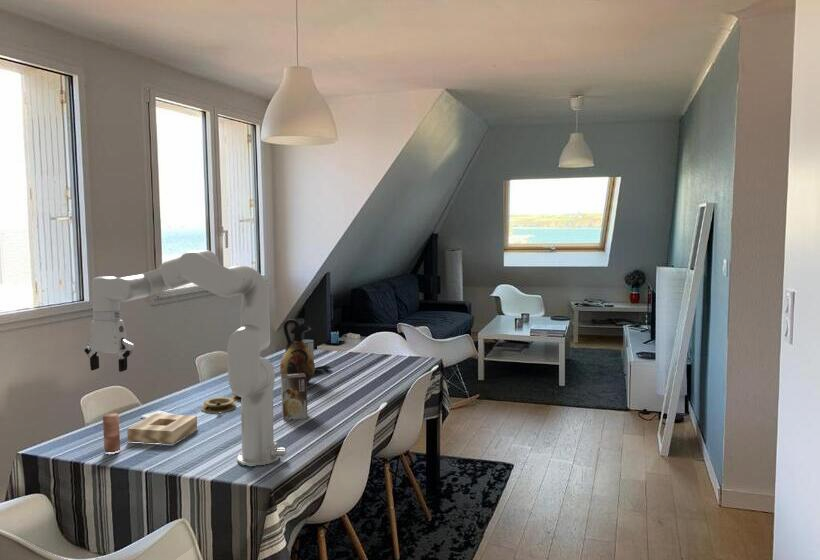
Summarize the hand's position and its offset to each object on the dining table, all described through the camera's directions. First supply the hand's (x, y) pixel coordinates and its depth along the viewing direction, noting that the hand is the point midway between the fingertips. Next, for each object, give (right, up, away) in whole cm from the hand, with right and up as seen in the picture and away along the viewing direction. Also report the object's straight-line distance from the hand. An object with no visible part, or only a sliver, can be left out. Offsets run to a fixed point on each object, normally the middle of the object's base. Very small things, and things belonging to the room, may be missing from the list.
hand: (108, 370), depth 190 cm
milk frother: (+46, -17, +110) cm, 121 cm away
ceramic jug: (+43, -19, +83) cm, 96 cm away
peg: (0, -27, +2) cm, 27 cm away
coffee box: (+51, -24, +38) cm, 68 cm away
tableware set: (+23, -23, +56) cm, 65 cm away
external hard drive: (+1, -24, +36) cm, 44 cm away
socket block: (+10, -25, +17) cm, 32 cm away
